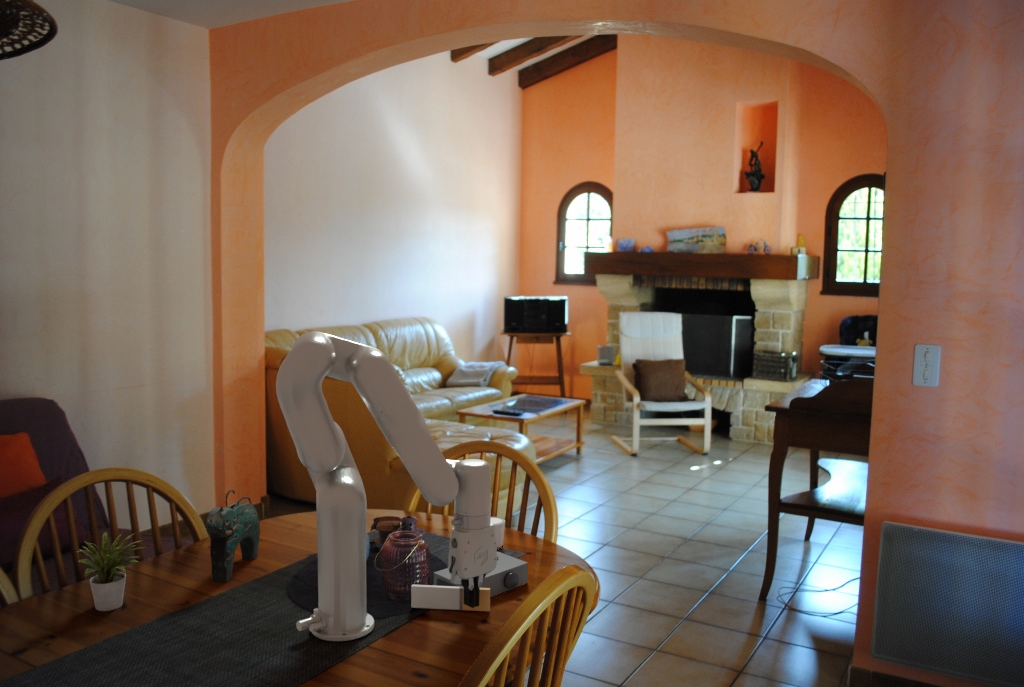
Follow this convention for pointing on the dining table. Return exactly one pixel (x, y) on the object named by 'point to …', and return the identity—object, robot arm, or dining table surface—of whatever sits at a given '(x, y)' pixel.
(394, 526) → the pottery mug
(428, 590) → the side door
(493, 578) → the box
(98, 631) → the dining table surface
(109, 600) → the house plant
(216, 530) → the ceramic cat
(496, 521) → the white cup
